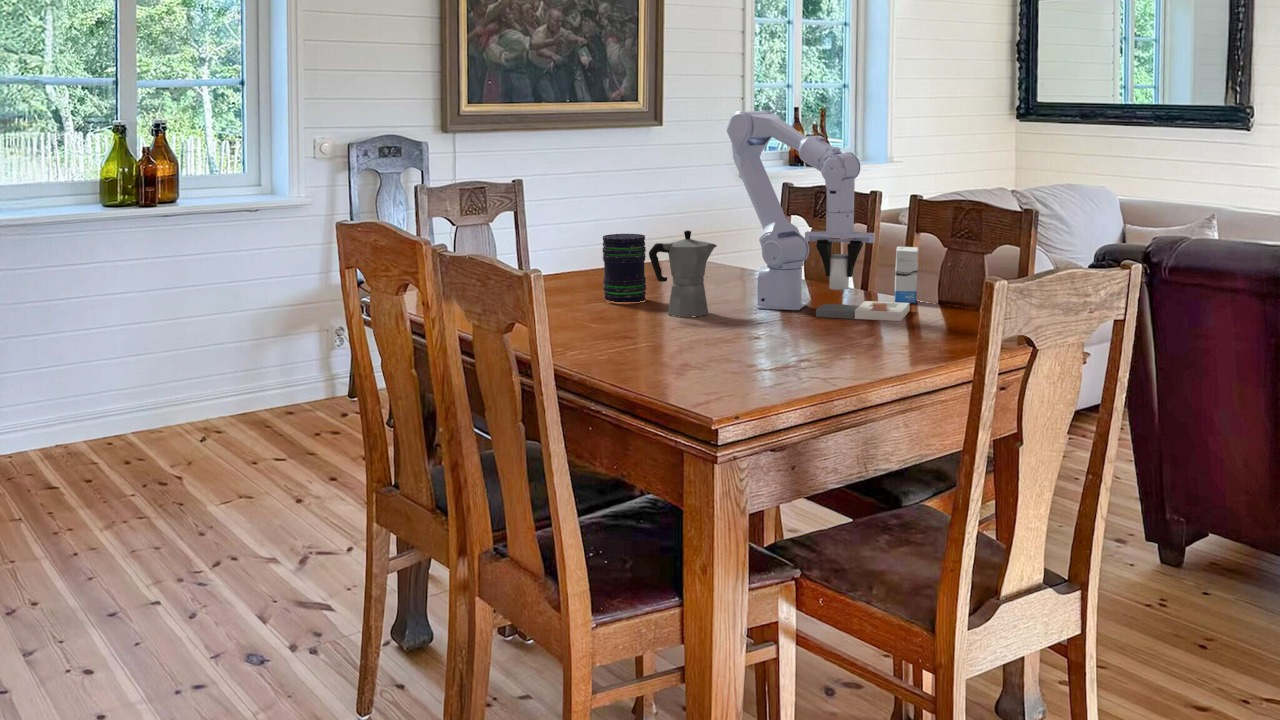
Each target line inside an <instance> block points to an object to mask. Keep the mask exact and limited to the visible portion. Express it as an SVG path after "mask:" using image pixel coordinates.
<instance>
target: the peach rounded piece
mask: <svg viewBox="0 0 1280 720" xmlns="http://www.w3.org/2000/svg"><path fill="white" fill-rule="evenodd" d="M873 311H887V304H886V303H873Z"/></svg>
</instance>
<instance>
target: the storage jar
mask: <svg viewBox="0 0 1280 720" xmlns="http://www.w3.org/2000/svg"><path fill="white" fill-rule="evenodd" d="M645 240H646V235H644V234H641V233H640V234H639V233H614V234H605V235H603V236H602V241H603V242H602V261H603V263H604V264H603V266H604V269H603V270H604V271H603V272H604V277H603V280H602V281H603V286H602V288H603V296H604V298H605V299H606V300H609V301H614V302H640V301H644V300H646V301H647V298H646V294H647V292H646V290H647V284H646V283H647V282H646V280H647V277H646V276H645V273H646V272H645V261H646V257H647V256H646V251H647V248H646V242H645Z"/></svg>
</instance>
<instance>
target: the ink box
mask: <svg viewBox="0 0 1280 720" xmlns="http://www.w3.org/2000/svg"><path fill="white" fill-rule="evenodd" d="M895 250H896V253H895V271H894V272H895V273H894V302H899V303H910V304H917V294H918V291H917V290H918V277H919V269H918V268H919V247H917V246H896V249H895Z"/></svg>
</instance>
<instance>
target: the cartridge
mask: <svg viewBox="0 0 1280 720" xmlns="http://www.w3.org/2000/svg"><path fill="white" fill-rule="evenodd" d="M847 271H848V254H840V253H839V254H838V253H837V254H835V253H834V254H831V255H830V276H829V289H830V290H835V291H843V290H849V289H850V288H849V285H850V279H849V278H850V277H848V276H847Z"/></svg>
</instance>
